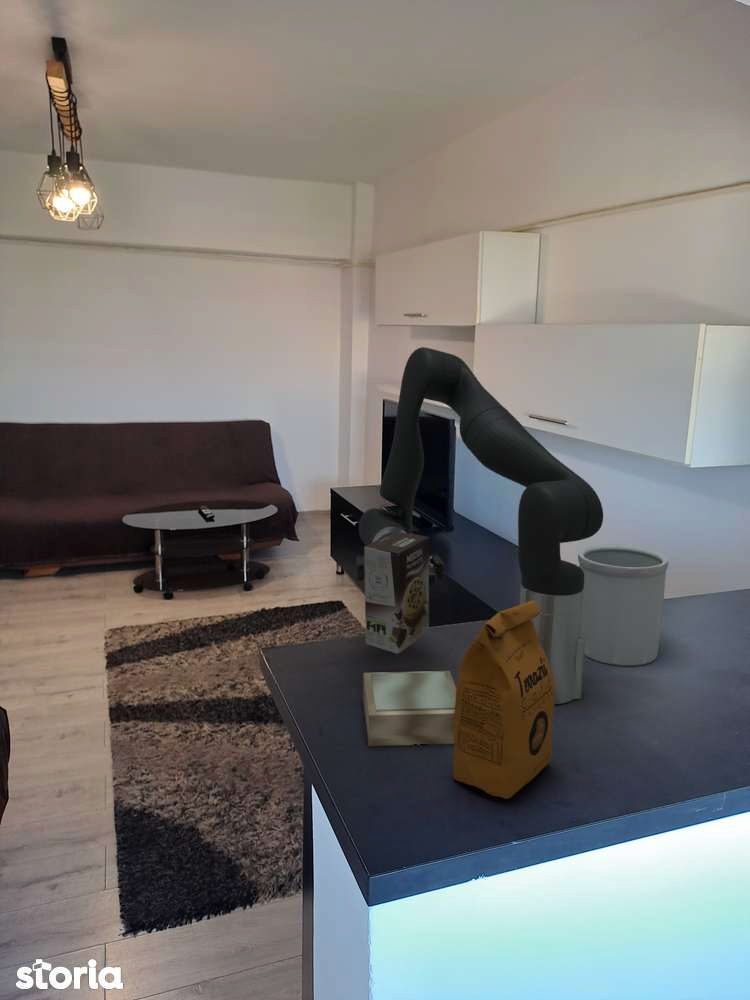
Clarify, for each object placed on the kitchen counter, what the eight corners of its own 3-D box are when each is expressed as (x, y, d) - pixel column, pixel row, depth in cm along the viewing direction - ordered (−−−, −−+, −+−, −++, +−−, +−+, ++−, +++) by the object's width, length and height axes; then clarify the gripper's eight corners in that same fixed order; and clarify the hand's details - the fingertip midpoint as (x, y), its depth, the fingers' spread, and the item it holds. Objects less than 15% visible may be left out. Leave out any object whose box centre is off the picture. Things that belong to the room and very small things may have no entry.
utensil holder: (554, 647, 133) (561, 553, 130) (602, 627, 143) (609, 538, 139) (629, 676, 122) (638, 573, 119) (675, 652, 132) (685, 556, 128)
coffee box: (399, 655, 112) (398, 553, 108) (364, 644, 116) (361, 545, 111) (430, 632, 119) (430, 536, 115) (396, 622, 123) (395, 529, 118)
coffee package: (564, 771, 95) (575, 607, 91) (506, 813, 87) (516, 634, 82) (499, 741, 102) (507, 587, 98) (440, 777, 94) (446, 611, 89)
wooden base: (448, 698, 114) (449, 669, 113) (464, 743, 102) (465, 710, 101) (363, 700, 113) (363, 670, 112) (368, 746, 101) (368, 713, 100)
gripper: (353, 532, 131) (357, 558, 115) (434, 530, 132) (449, 557, 116) (353, 573, 133) (357, 605, 117) (433, 571, 134) (448, 603, 118)
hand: (403, 581), depth 117 cm, fingers closed on coffee box, 8 cm apart
